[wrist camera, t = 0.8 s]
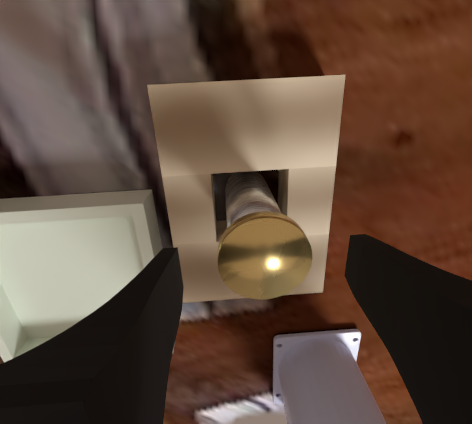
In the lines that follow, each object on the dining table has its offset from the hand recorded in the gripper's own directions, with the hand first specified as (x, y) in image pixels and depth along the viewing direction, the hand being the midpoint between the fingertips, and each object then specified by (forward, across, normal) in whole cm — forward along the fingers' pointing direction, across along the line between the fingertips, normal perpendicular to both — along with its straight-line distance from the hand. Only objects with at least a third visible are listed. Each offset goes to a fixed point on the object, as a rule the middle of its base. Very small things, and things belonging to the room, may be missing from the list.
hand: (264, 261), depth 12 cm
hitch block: (+9, 0, 0) cm, 9 cm away
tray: (+9, +13, +6) cm, 17 cm away
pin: (+9, 0, 0) cm, 9 cm away
